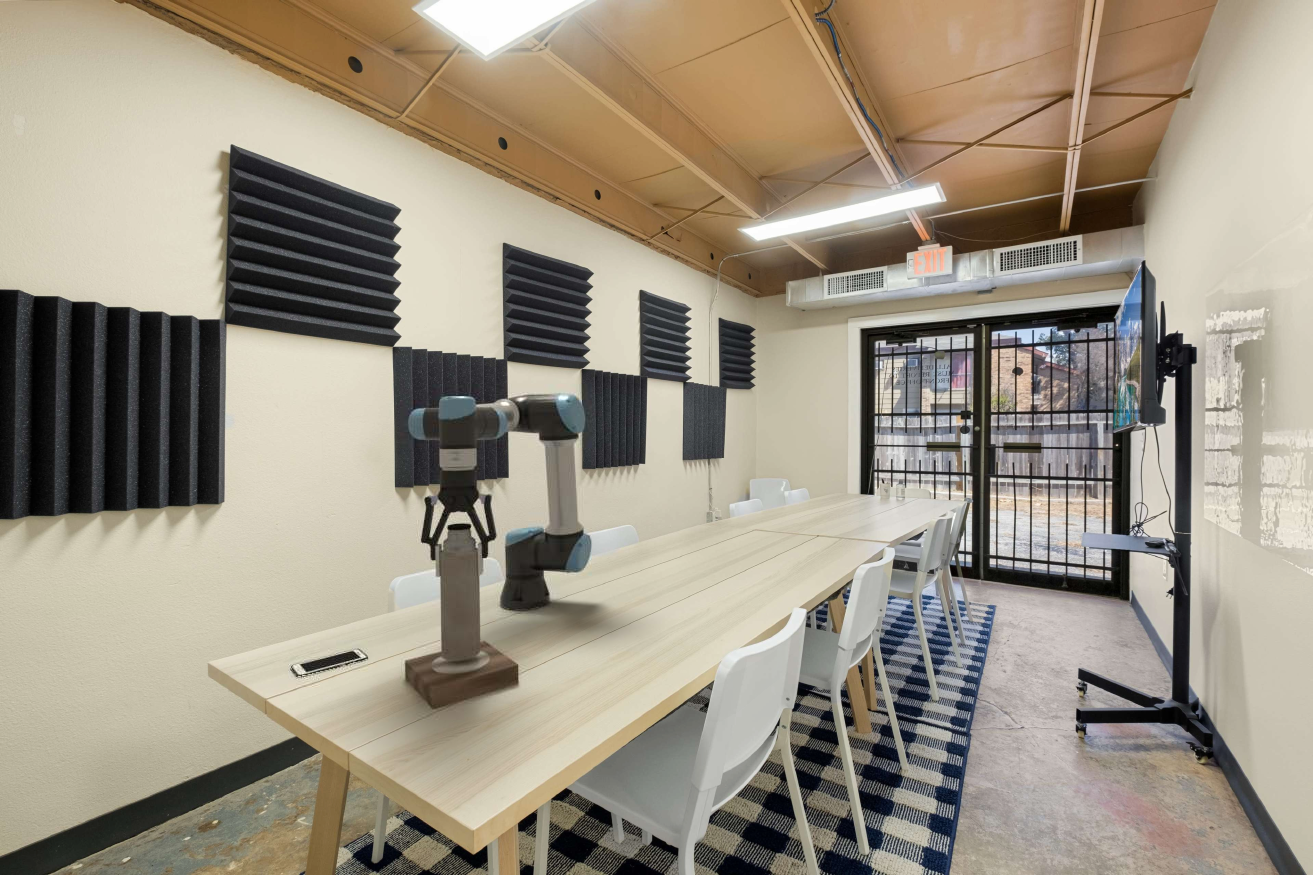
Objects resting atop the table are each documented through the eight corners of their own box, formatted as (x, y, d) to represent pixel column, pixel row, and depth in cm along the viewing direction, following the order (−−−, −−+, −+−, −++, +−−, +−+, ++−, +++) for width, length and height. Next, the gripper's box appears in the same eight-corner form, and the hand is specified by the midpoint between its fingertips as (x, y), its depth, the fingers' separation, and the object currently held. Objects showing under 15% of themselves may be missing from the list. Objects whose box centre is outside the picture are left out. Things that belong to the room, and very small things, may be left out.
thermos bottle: (451, 645, 129) (449, 520, 129) (486, 646, 129) (484, 521, 128) (434, 660, 121) (432, 527, 121) (471, 661, 121) (469, 527, 120)
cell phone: (289, 669, 133) (289, 665, 133) (358, 651, 143) (358, 647, 143) (298, 680, 127) (298, 675, 127) (369, 660, 137) (369, 656, 137)
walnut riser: (405, 678, 126) (404, 659, 126) (484, 657, 138) (484, 639, 138) (432, 709, 112) (432, 687, 112) (518, 682, 124) (518, 663, 124)
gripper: (402, 470, 119) (404, 581, 119) (506, 468, 122) (508, 576, 123) (411, 468, 126) (413, 572, 127) (509, 466, 130) (511, 567, 130)
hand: (460, 574), depth 125 cm, fingers closed on thermos bottle, 8 cm apart
